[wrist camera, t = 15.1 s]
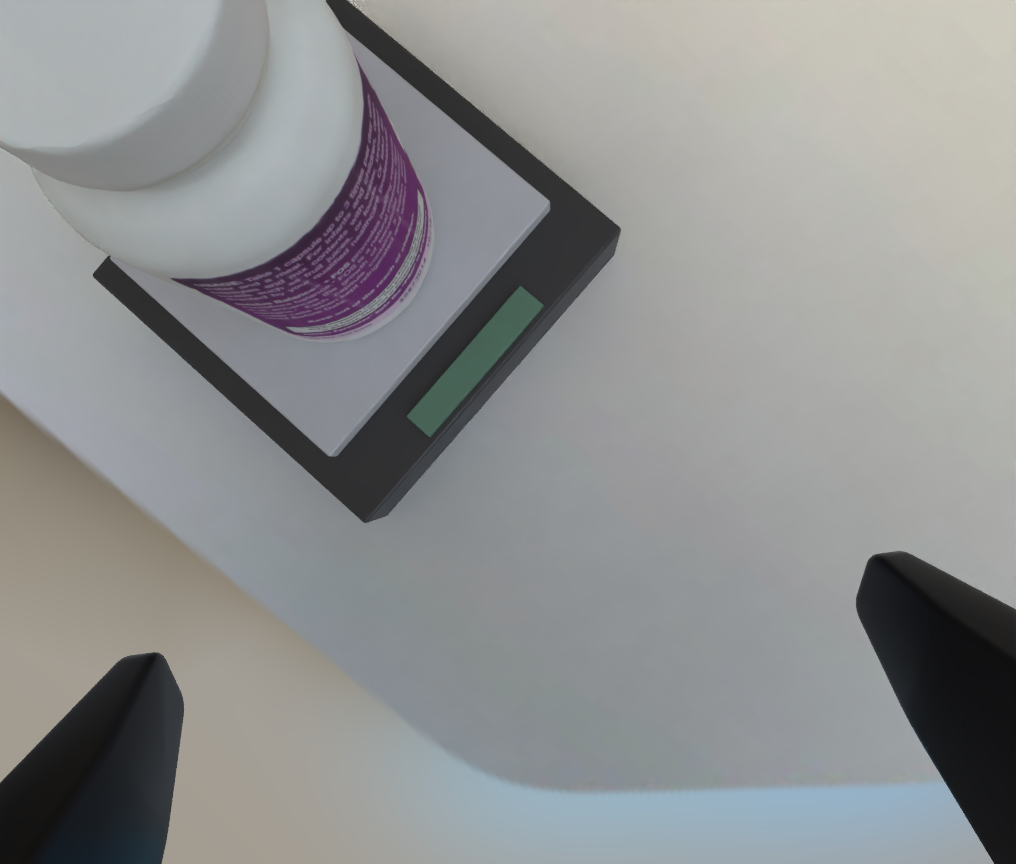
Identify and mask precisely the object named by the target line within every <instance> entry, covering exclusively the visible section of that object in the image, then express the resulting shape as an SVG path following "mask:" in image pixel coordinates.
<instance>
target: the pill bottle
mask: <svg viewBox="0 0 1016 864" xmlns="http://www.w3.org/2000/svg"><path fill="white" fill-rule="evenodd" d="M0 147H1V148H2V149H4V150H6V151H8V152H9V153H11V154H13V155H15V156H16V157H18V158H20V159H21V160H23V161H24V162H26V163H27V164H28V165H30V167H31V169H32V172H33V174H34V176H35V178H36V180H37V182H38V184H39V186H40V187H41V189H42V191H43V192H44V194H45V195H46V197H47V198H48V200H49V201H50V203H51V204H52V205H53V207H54V208H55V209H56V210H57V212H58V213H59V214H60V215H61V216H62V218H63V219H64V220H65V221H66V222H67V223H68V224H69V225H70V226H71V227H72V228H73V229H74V230H75V231H77V232H78V233H79V234H80V235H81V236H82V237H83V238H85V239H86V240H87V241H89V242H90V243H92V244H93V245H94V246H96V247H97V248H99V249H100V250H102V251H103V252H105V253H107V254H108V255H110V256H112V257H113V258H115V259H117V260H120V261H122V262H124V263H126V264H128V265H130V266H132V267H134V268H136V269H138V270H141V271H143V272H145V273H147V274H150V275H152V276H154V277H157V278H159V279H161V280H163V281H165V282H168V283H170V284H172V285H175V286H177V287H180V288H182V289H184V290H186V291H189V292H191V293H194V294H196V295H198V296H200V297H203V298H205V299H208V300H210V301H213V302H215V303H217V304H220V305H222V306H224V307H227V308H229V309H231V310H234V311H235V312H238V313H240V314H242V315H245V316H247V317H249V318H251V319H253V320H255V321H257V322H260V323H262V324H264V325H266V326H268V327H271V328H273V329H275V330H277V331H279V332H282V333H284V334H286V335H289V336H291V337H294V338H297V339H301V340H305V341H310V342H318V343H336V342H343V341H351V340H354V339H358V338H361V337H364V336H366V335H368V334H370V333H373V332H374V331H376V330H378V329H379V328H381V327H383V326H384V325H386V324H387V323H389V322H390V321H392V320H393V319H394V318H396V317H397V316H398V315H399V314H400V313H401V312H402V311H403V310H404V309H405V308H406V307H407V306H409V305H410V303H411V302H412V300H413V299H414V297H415V296H416V294H417V292H418V290H419V289H420V287H421V285H422V283H423V281H424V278H425V276H426V274H427V272H428V269H429V266H430V262H431V258H432V253H433V247H434V239H435V232H434V222H433V214H432V210H431V206H430V202H429V199H428V197H427V194H426V192H425V190H424V187H423V185H422V183H421V181H420V179H419V177H418V175H417V172H416V170H415V169H414V167H413V165H412V163H411V161H410V159H409V157H408V155H407V153H406V151H405V149H404V147H403V144H402V142H401V140H400V138H399V135H398V134H397V132H396V130H395V128H394V125H393V123H392V121H391V119H390V117H389V116H388V114H387V112H386V111H385V109H384V107H383V105H382V103H381V101H380V99H379V97H378V95H377V94H376V92H375V90H374V87H373V85H372V84H371V82H370V80H369V78H368V76H367V74H366V72H365V70H364V68H363V66H362V64H361V62H360V60H359V58H358V56H357V54H356V52H355V50H354V48H353V46H352V44H351V42H350V40H349V38H348V37H347V35H346V33H345V31H344V30H343V28H342V26H341V24H340V23H339V21H338V19H337V18H336V16H335V14H334V13H333V11H332V10H331V8H330V7H329V5H328V4H327V3H326V1H325V0H0Z"/></svg>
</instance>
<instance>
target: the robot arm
mask: <svg viewBox="0 0 1016 864" xmlns="http://www.w3.org/2000/svg"><path fill="white" fill-rule="evenodd" d="M856 608H857V612H858V616H859V618H860V620H861V623H862V625H863V627H864V629H865V631H866V633H867V635H868V637H869V639H870V641H871V644H872V646H873V648H874V650H875V652H876V654H877V656H878V658H879V660H880V662H881V665H882V667H883V669H884V671H885V673H886V675H887V677H888V679H889V681H890V683H891V686H892V688H893V690H894V692H895V694H896V696H897V698H898V700H899V702H900V705H901V707H902V708H903V710H904V712H905V714H906V716H907V718H908V720H909V722H910V724H911V726H912V727H913V729H914V731H915V733H916V734H917V736H918V738H919V740H920V741H921V743H922V745H923V746H924V748H925V750H926V751H927V753H928V755H929V756H930V758H931V760H932V761H933V763H934V765H935V766H936V768H937V770H938V771H939V773H940V774H941V776H942V778H943V779H944V781H945V783H946V784H947V786H948V788H949V789H950V791H951V793H952V794H953V796H954V798H955V799H956V801H957V802H958V804H959V806H960V808H961V809H962V811H963V813H964V814H965V816H966V818H967V819H968V821H969V823H970V824H971V826H972V828H973V829H974V831H975V833H976V834H977V836H978V837H979V839H980V841H981V842H982V844H983V846H984V847H985V849H986V851H987V852H988V854H989V856H990V857H991V859H992V861H993V862H994V864H1016V609H1014V608H1012V607H1010V606H1008V605H1006V604H1004V603H1003V602H1001V601H999V600H997V599H995V598H993V597H991V596H989V595H987V594H985V593H984V592H982V591H980V590H978V589H976V588H974V587H972V586H970V585H968V584H966V583H964V582H963V581H961V580H959V579H957V578H955V577H953V576H951V575H949V574H947V573H945V572H944V571H942V570H940V569H938V568H936V567H934V566H932V565H930V564H928V563H926V562H925V561H923V560H921V559H919V558H917V557H915V556H913V555H911V554H909V553H907V552H902V551H896V552H888V553H881V554H875V555H873V556H872V557H871V558H870V559H869V560H868V562H867V565H866V568H865V571H864V574H863V578H862V581H861V584H860V587H859V590H858V594H857V597H856ZM183 716H184V702H183V697H182V694H181V691H180V689H179V687H178V685H177V683H176V680H175V678H174V676H173V674H172V672H171V670H170V668H169V665H168V663H167V661H166V659H165V658H164V656H163V655H161V654H160V653H156V652H153V653H146V654H139V655H131V656H127V657H124V658H123V659H121V660H120V661H118V662H117V663H116V664H115V665H114V666H113V667H112V668H111V669H110V671H108V673H107V674H106V675H105V676H104V677H103V678H102V679H101V680H100V681H99V682H98V683H97V684H96V685H95V686H94V687H93V688H92V689H91V690H90V691H89V692H88V693H87V694H86V695H85V696H84V697H83V698H82V699H81V700H80V701H79V702H78V703H77V704H76V705H75V706H74V707H73V708H72V710H71V711H70V712H69V713H68V714H67V715H66V716H65V717H64V718H63V719H62V720H61V721H60V722H59V723H58V724H57V725H56V726H55V727H54V728H53V729H52V730H51V731H50V732H49V733H48V734H47V735H46V736H45V737H44V738H43V740H41V741H40V742H39V743H38V744H37V745H36V747H35V748H34V749H33V750H32V751H31V752H30V753H29V754H28V755H27V756H26V757H25V758H24V759H23V760H22V761H21V762H20V763H19V764H18V765H17V766H16V767H15V768H14V769H13V770H12V771H11V772H10V773H9V774H8V775H7V776H6V777H5V778H4V779H3V781H2V782H1V783H0V864H161V863H162V859H163V854H164V849H165V845H166V840H167V833H168V827H169V821H170V812H171V806H172V798H173V791H174V783H175V775H176V768H177V761H178V753H179V746H180V738H181V730H182V723H183Z"/></svg>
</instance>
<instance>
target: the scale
mask: <svg viewBox="0 0 1016 864" xmlns="http://www.w3.org/2000/svg"><path fill="white" fill-rule="evenodd" d="M326 3H327V4H328V5H329V7H330V8H331V10H332V11H333V13H334V14H335V16H336V18H337V19H338V21H339V23H340V24H341V26H342V28H343V30H344V31H345V33H346V35H347V37H348V38H349V40H350V42H351V44H352V46H353V48H354V50H355V52H356V54H357V56H358V58H359V60H360V62H361V64H362V66H363V68H364V70H365V72H366V74H367V76H368V78H369V80H370V82H371V84H372V85H373V87H374V90H375V92H376V94H377V95H378V97H379V99H380V101H381V103H382V105H383V107H384V109H385V111H386V112H387V114H388V116H389V117H390V119H391V121H392V123H393V125H394V128H395V130H396V132H397V134H398V135H399V138H400V140H401V142H402V144H403V147H404V149H405V151H406V153H407V155H408V157H409V159H410V161H411V163H412V165H413V167H414V169H415V170H416V172H417V175H418V177H419V179H420V181H421V183H422V185H423V187H424V190H425V192H426V194H427V197H428V199H429V202H430V206H431V210H432V214H433V222H434V232H435V239H434V247H433V253H432V258H431V262H430V266H429V269H428V272H427V274H426V276H425V278H424V281H423V283H422V285H421V287H420V289H419V290H418V292H417V294H416V296H415V297H414V299H413V300H412V302H411V303H410V305H409V306H407V307H406V308H405V309H404V310H403V311H402V312H401V313H400V314H399V315H398V316H397V317H396V318H394V319H393V320H392V321H390V322H389V323H387V324H386V325H384V326H383V327H381V328H379V329H378V330H376V331H374V332H373V333H370V334H368V335H366V336H364V337H361V338H358V339H354V340H351V341H343V342H336V343H318V342H310V341H305V340H301V339H297V338H294V337H291V336H289V335H286V334H284V333H282V332H279V331H277V330H275V329H273V328H271V327H268V326H266V325H264V324H262V323H260V322H257V321H255V320H253V319H251V318H249V317H247V316H245V315H242V314H240V313H238V312H235V311H234V310H231V309H229V308H227V307H224V306H222V305H220V304H217V303H215V302H213V301H210V300H208V299H205V298H203V297H200V296H198V295H196V294H194V293H191V292H189V291H186V290H184V289H182V288H180V287H177V286H175V285H172V284H170V283H168V282H165V281H163V280H161V279H159V278H157V277H154V276H152V275H150V274H147V273H145V272H143V271H141V270H138V269H136V268H134V267H132V266H130V265H128V264H126V263H124V262H122V261H120V260H117V259H115V258H113V257H112V256H110V255H109V256H108V257H107V258H106V259H105V260H104V262H103V263H102V264H101V265H100V266H99V267H98V269H97V270H96V271H95V272H94V273H93V277H94V278H95V279H96V280H97V281H98V282H99V283H100V284H102V285H103V286H104V287H105V288H106V289H107V290H108V291H109V292H110V293H111V294H113V295H114V296H115V297H116V298H117V299H118V300H119V301H120V302H121V303H122V304H124V305H125V306H126V307H127V308H128V309H129V310H130V311H131V312H132V313H133V314H135V315H136V316H137V317H138V318H139V319H140V320H141V321H142V322H143V323H144V324H146V325H147V326H148V327H149V328H150V329H151V330H152V331H153V332H154V333H156V334H157V335H158V336H159V337H160V338H161V339H162V340H163V341H164V342H165V343H167V344H168V345H169V346H170V347H171V348H172V349H173V350H174V351H175V352H176V353H178V354H179V355H180V356H181V357H182V358H183V359H184V360H185V361H186V362H187V363H189V364H190V365H191V366H192V367H193V368H194V369H195V370H196V371H197V372H198V373H200V374H201V375H202V376H203V377H204V378H205V379H206V380H207V381H208V382H209V383H211V384H212V385H213V386H214V387H215V388H216V389H217V390H218V391H219V392H221V393H222V394H223V395H224V396H225V397H226V398H227V399H228V400H229V401H230V402H232V403H233V404H234V405H235V406H236V407H237V408H238V409H239V410H240V411H241V412H243V413H244V414H245V415H246V416H247V417H248V418H249V419H250V420H251V421H252V422H254V423H255V424H256V425H257V426H258V427H259V428H260V429H261V430H262V431H263V432H265V433H266V434H267V435H268V436H269V437H270V438H271V439H272V440H273V441H275V442H276V443H277V444H278V445H279V446H280V447H281V448H282V449H283V450H284V451H286V452H287V453H288V454H289V455H290V456H291V457H292V458H293V459H294V460H295V461H297V462H298V463H299V464H300V465H301V466H302V467H303V468H304V469H305V470H306V471H308V472H309V473H310V474H311V475H312V476H313V477H314V478H315V479H316V480H317V481H319V482H320V483H321V484H322V485H323V486H324V487H325V488H326V489H327V490H328V491H330V492H331V493H332V494H333V495H334V496H335V497H336V498H337V499H338V500H340V501H341V502H342V503H343V504H344V505H345V506H346V507H347V508H348V509H349V510H351V511H352V512H353V513H354V514H355V515H356V516H357V517H358V518H359V519H360V520H362V521H363V522H365V523H367V522H370V521H373V520H376V519H379V518H381V517H384V516H387V515H388V514H389V513H390V511H391V510H392V509H393V508H394V507H395V506H396V505H397V503H398V502H399V501H400V500H401V499H402V498H403V497H404V495H405V494H406V493H407V492H408V491H409V490H410V489H411V487H412V486H413V485H414V484H415V483H416V482H417V480H418V479H419V478H420V477H421V476H422V475H423V474H424V472H425V471H426V470H427V469H428V468H429V467H430V466H431V464H432V463H433V462H434V461H435V460H436V459H437V458H438V456H439V455H440V454H441V453H442V452H443V451H444V449H445V448H446V447H447V446H448V445H449V444H450V443H451V441H452V440H453V439H454V438H455V437H456V436H457V435H458V433H459V432H460V431H461V430H462V429H463V428H464V427H465V425H466V424H467V423H468V422H469V421H470V420H471V418H472V417H473V416H474V415H475V414H476V413H477V412H478V410H479V409H480V408H481V407H482V406H483V405H484V404H485V402H486V401H487V400H488V399H489V398H490V397H491V396H492V394H493V393H494V392H495V391H496V390H497V389H498V387H499V386H500V385H501V384H502V383H503V382H504V381H505V379H506V378H507V377H508V376H509V375H510V374H511V373H512V371H513V370H514V369H515V368H516V367H517V366H518V365H519V363H520V362H521V361H522V360H523V359H524V358H525V356H526V355H527V354H528V353H529V352H530V351H531V350H532V348H533V347H534V346H535V345H536V344H537V343H538V342H539V340H540V339H541V338H542V337H543V336H544V335H545V334H546V332H547V331H548V330H549V329H550V328H551V327H552V325H553V324H554V323H555V322H556V321H557V320H558V319H559V317H560V316H561V315H562V314H563V313H564V312H565V311H566V309H567V308H568V307H569V306H570V305H571V304H572V302H573V301H574V300H575V299H576V298H577V297H578V296H579V294H580V293H581V292H582V291H583V290H584V289H585V288H586V286H587V285H588V284H589V283H590V282H591V281H592V280H593V278H594V277H595V276H596V275H597V274H598V273H599V271H600V270H601V269H602V268H603V267H604V266H605V265H606V263H607V262H608V261H609V260H610V259H611V258H612V257H613V255H614V253H615V249H616V246H617V242H618V239H619V235H620V232H621V229H620V227H619V226H618V225H616V224H615V223H614V222H613V221H612V220H610V219H609V218H608V217H607V216H606V215H604V214H603V213H602V212H601V211H600V210H598V209H597V208H596V207H595V206H594V205H592V204H591V203H590V202H589V201H588V200H586V199H585V198H584V197H583V196H582V195H580V194H579V193H578V192H577V191H576V190H574V189H573V188H572V187H571V186H570V185H568V184H567V183H566V182H565V181H564V180H562V179H561V178H560V177H559V176H558V175H556V174H555V173H554V172H553V171H551V170H550V169H549V168H548V167H547V166H545V165H544V164H543V163H542V162H541V161H539V160H538V159H537V158H536V157H535V156H533V155H532V154H531V153H530V152H529V151H527V150H526V149H525V148H524V147H523V146H521V145H520V144H519V143H518V142H517V141H515V140H514V139H513V138H512V137H511V136H509V135H508V134H507V133H506V132H505V131H503V130H502V129H501V128H500V127H499V126H497V125H496V124H495V123H494V122H493V121H491V120H490V119H489V118H488V117H487V116H485V115H484V114H483V113H482V112H481V111H479V110H478V109H477V108H476V107H475V106H473V105H472V104H471V103H470V102H469V101H467V100H466V99H465V98H464V97H463V96H461V95H460V94H459V93H458V92H457V91H455V90H454V89H453V88H452V87H451V86H449V85H448V84H447V83H446V82H445V81H443V80H442V79H441V78H440V77H439V76H437V75H436V74H435V73H434V72H433V71H431V70H430V69H429V68H428V67H427V66H425V65H424V64H423V63H422V62H421V61H419V60H418V59H417V58H416V57H415V56H413V55H412V54H411V53H410V52H409V51H407V50H406V49H405V48H404V47H403V46H401V45H400V44H399V43H398V42H397V41H395V40H394V39H393V38H392V37H391V36H389V35H388V34H387V33H386V32H384V31H383V30H382V29H381V28H380V27H378V26H377V25H376V24H375V23H374V22H372V21H371V20H370V19H369V18H368V17H366V16H365V15H364V14H363V13H362V12H360V11H359V10H358V9H357V8H356V7H354V6H353V5H352V4H351V3H350V2H348V1H347V0H326Z"/></svg>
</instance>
